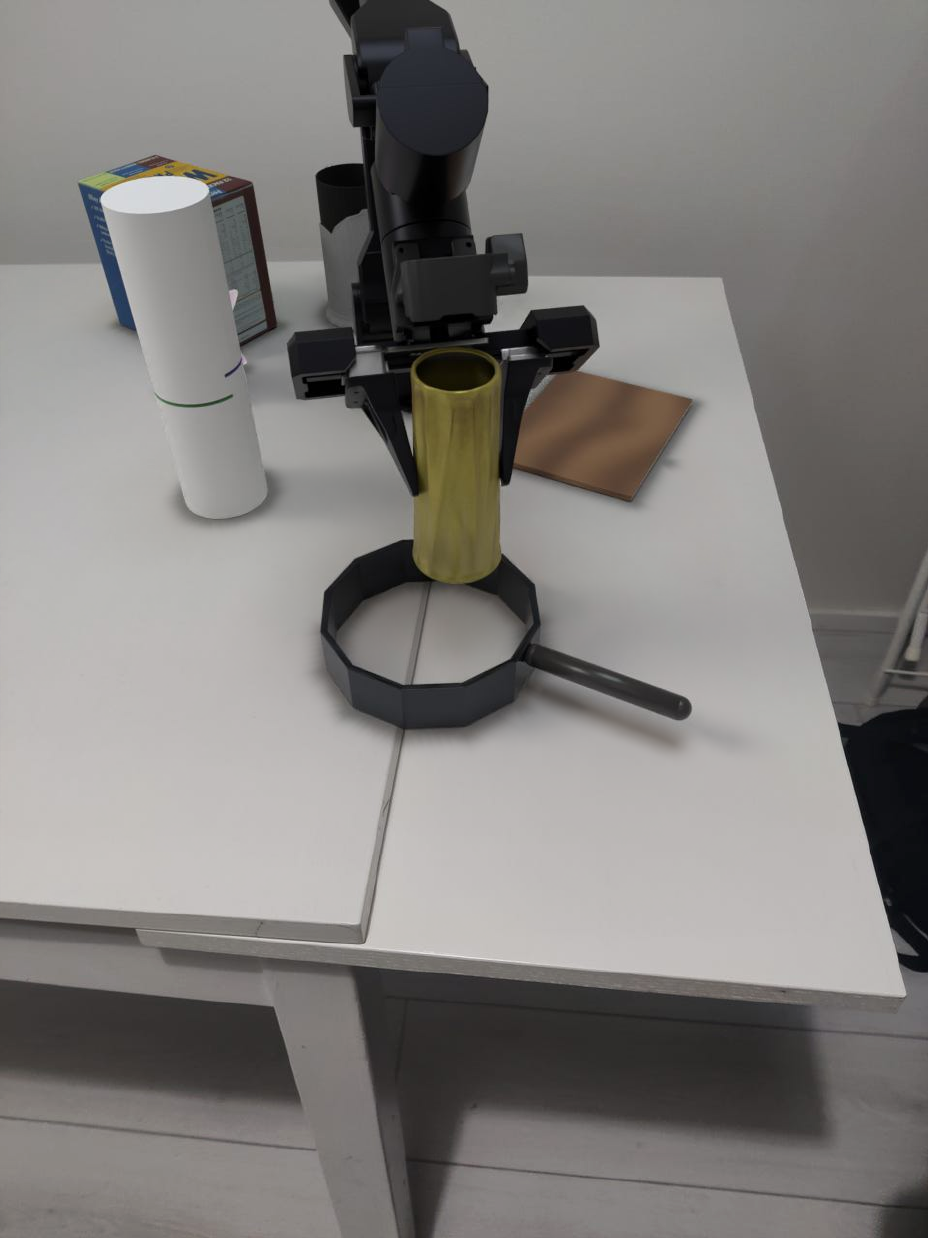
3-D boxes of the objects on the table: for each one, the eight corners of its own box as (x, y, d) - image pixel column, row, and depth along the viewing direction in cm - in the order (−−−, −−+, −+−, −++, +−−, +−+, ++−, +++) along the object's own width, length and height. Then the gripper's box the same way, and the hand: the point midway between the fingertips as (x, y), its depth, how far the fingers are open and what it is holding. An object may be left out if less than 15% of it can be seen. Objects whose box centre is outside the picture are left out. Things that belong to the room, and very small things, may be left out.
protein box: (187, 291, 106) (154, 152, 95) (279, 326, 99) (255, 181, 88) (117, 324, 100) (73, 180, 89) (210, 363, 93) (175, 212, 82)
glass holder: (339, 335, 97) (323, 194, 87) (303, 285, 107) (285, 152, 96) (412, 321, 100) (405, 181, 89) (371, 273, 109) (360, 142, 99)
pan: (286, 680, 61) (278, 640, 58) (395, 556, 71) (392, 517, 68) (645, 830, 53) (655, 792, 50) (714, 666, 62) (726, 626, 59)
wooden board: (485, 459, 80) (485, 454, 80) (561, 372, 92) (562, 366, 91) (630, 502, 76) (631, 496, 75) (691, 404, 87) (692, 398, 87)
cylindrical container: (283, 481, 78) (230, 184, 60) (236, 527, 73) (163, 220, 56) (217, 462, 80) (147, 170, 63) (167, 505, 76) (77, 203, 58)
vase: (441, 597, 57) (436, 408, 47) (396, 545, 61) (383, 359, 51) (518, 565, 60) (529, 377, 49) (470, 516, 63) (472, 332, 53)
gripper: (262, 189, 45) (304, 489, 45) (609, 164, 48) (646, 449, 48) (278, 273, 56) (312, 514, 56) (559, 249, 59) (590, 480, 59)
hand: (460, 490), depth 55 cm, fingers closed on vase, 5 cm apart
